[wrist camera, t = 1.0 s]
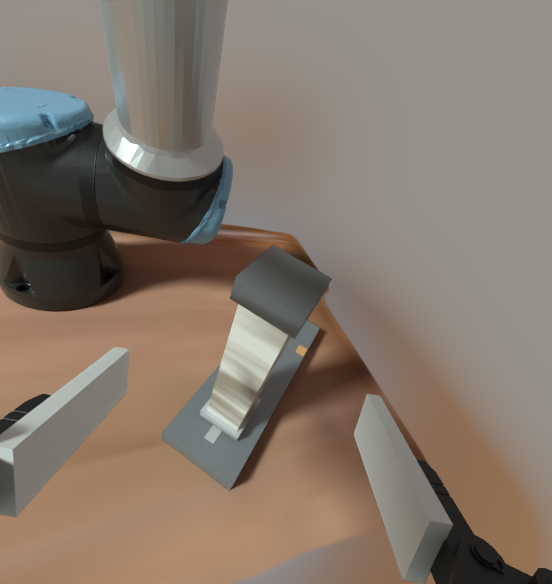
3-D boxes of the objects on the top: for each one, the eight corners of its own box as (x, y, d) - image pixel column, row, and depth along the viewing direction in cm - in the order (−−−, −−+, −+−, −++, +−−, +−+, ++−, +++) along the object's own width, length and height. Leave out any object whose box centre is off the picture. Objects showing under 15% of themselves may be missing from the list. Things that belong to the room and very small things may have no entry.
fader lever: (236, 441, 30) (306, 319, 16) (199, 414, 31) (235, 276, 17) (258, 404, 34) (332, 278, 20) (225, 381, 35) (273, 245, 21)
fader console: (228, 490, 29) (232, 485, 27) (161, 439, 30) (162, 431, 29) (315, 334, 48) (320, 326, 46) (271, 307, 49) (275, 299, 48)
